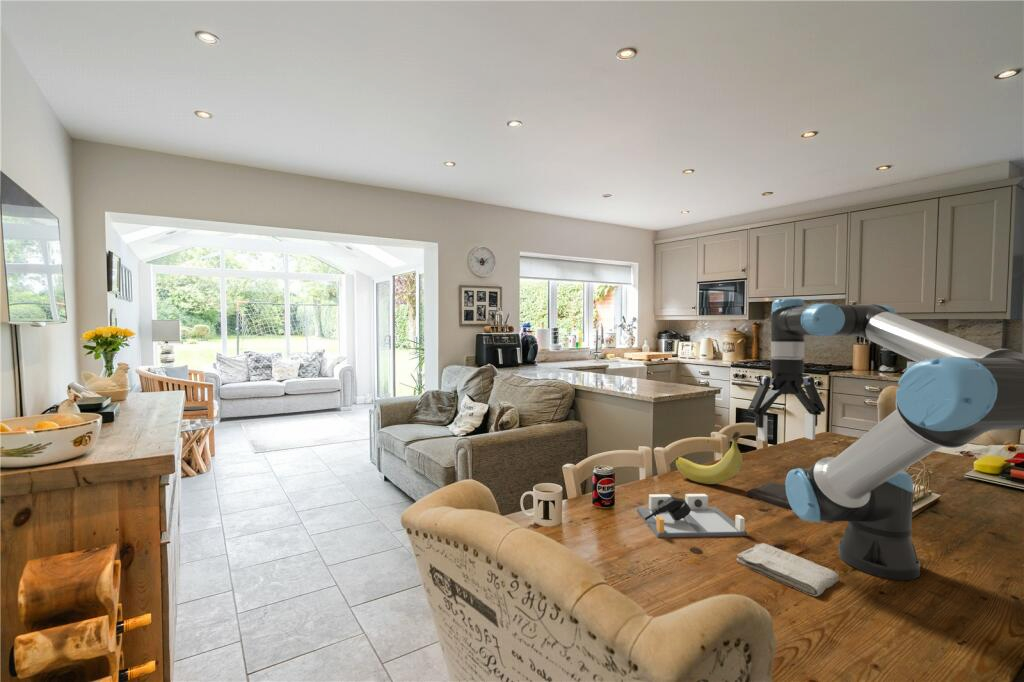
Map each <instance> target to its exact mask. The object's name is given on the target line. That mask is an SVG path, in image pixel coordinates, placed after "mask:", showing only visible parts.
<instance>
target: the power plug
mask: <svg viewBox="0 0 1024 682" xmlns="http://www.w3.org/2000/svg"><path fill="white" fill-rule="evenodd" d="M657 508H658V509H657ZM657 508H655V509H654V511H652V514H650V515H649V516H647V517H645V518H644V519H645V520H647V519H649V518H650V517H652V516H656V514H657V515H658V514H659V515H660V513H661V514H662V512H663V513H664V512H666V511H668V513H669V514H670V516H671V517H672V518H673V520H675V521H677V520H681V519H682V518H683V519H684V520H685V522H686V523H687V524H689V521H688V520H687V518H686V516H687V515H688V514H689V513H690V511H691V508H690V507H689V506H688V504H687V503H686V501H685V498H680V497H674V496H671V497H670V498H669V499H667V500H665V501H664V502H662V504H660V505H659V507H657ZM644 519H643V520H644Z"/></svg>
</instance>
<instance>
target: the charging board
mask: <svg viewBox="0 0 1024 682" xmlns="http://www.w3.org/2000/svg"><path fill="white" fill-rule="evenodd" d="M670 497H672V495H670V494H668V493H666V494H664V493H663V494H661V493H659V494H658V493H655V494H653V493H652V494H651V493H650V494H648V507H636V512H637V513H638V515H640V517H641V518H642V520H643V521H644V522H645V523H646V524H647V526H648V527H649V528H650V530H651V531H652V532H653V534H654V535H655V537H656V538H685V537H686V538H687V537H688V538H693V537H694V538H698V537H699V538H700V537H701V538H702V537H703V538H704V537H747V536H748V531H746V529H745V521H746V519H745V518H744V517H743V516H742V515H741V514H735V516H734V517H735V521H734V520H733V519H732V518H730V516H728V515H727V514H725V513H724V511H722V510H721V509H719V508H718V507H717V506H709V495H707V494H706V493H685V497H684V500H685V501H686V503H687V504H688V506H689V507H690V508H691V511H690V513H689V514H688V515H687V516H686V518H687V520H688V521H689V524H687V523H686V522H685V520H684V519H683V518H682V519H681V520H677V521H675V520H673V518H672V517H671V516H670V514H669V513H668V511H666V512H664V513H663V512H662V514H661V513H660V515H659V514H658V515H657V514H656V516H652V517H650V518H649V519H647V520H645V519H644V518H645V517H647V516H649V515H650V514H652V511H654V509H655V508H657V507H659V505H660V504H662V502H664V501H665V500H667V499H669V498H670ZM657 509H658V508H657Z"/></svg>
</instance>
